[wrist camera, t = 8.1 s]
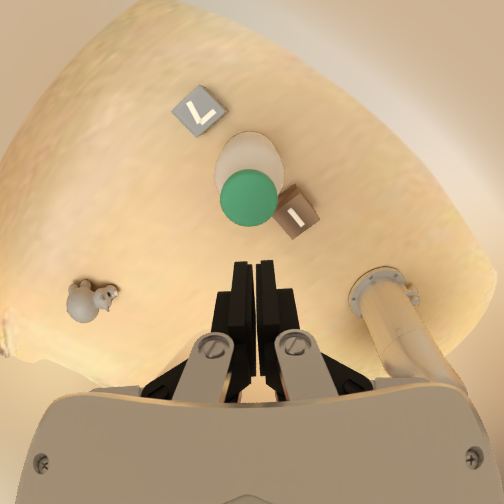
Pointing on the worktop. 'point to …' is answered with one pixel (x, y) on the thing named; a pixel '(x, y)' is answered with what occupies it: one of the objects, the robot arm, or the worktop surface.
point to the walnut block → (294, 212)
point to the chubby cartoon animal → (88, 301)
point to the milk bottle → (249, 178)
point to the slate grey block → (199, 111)
